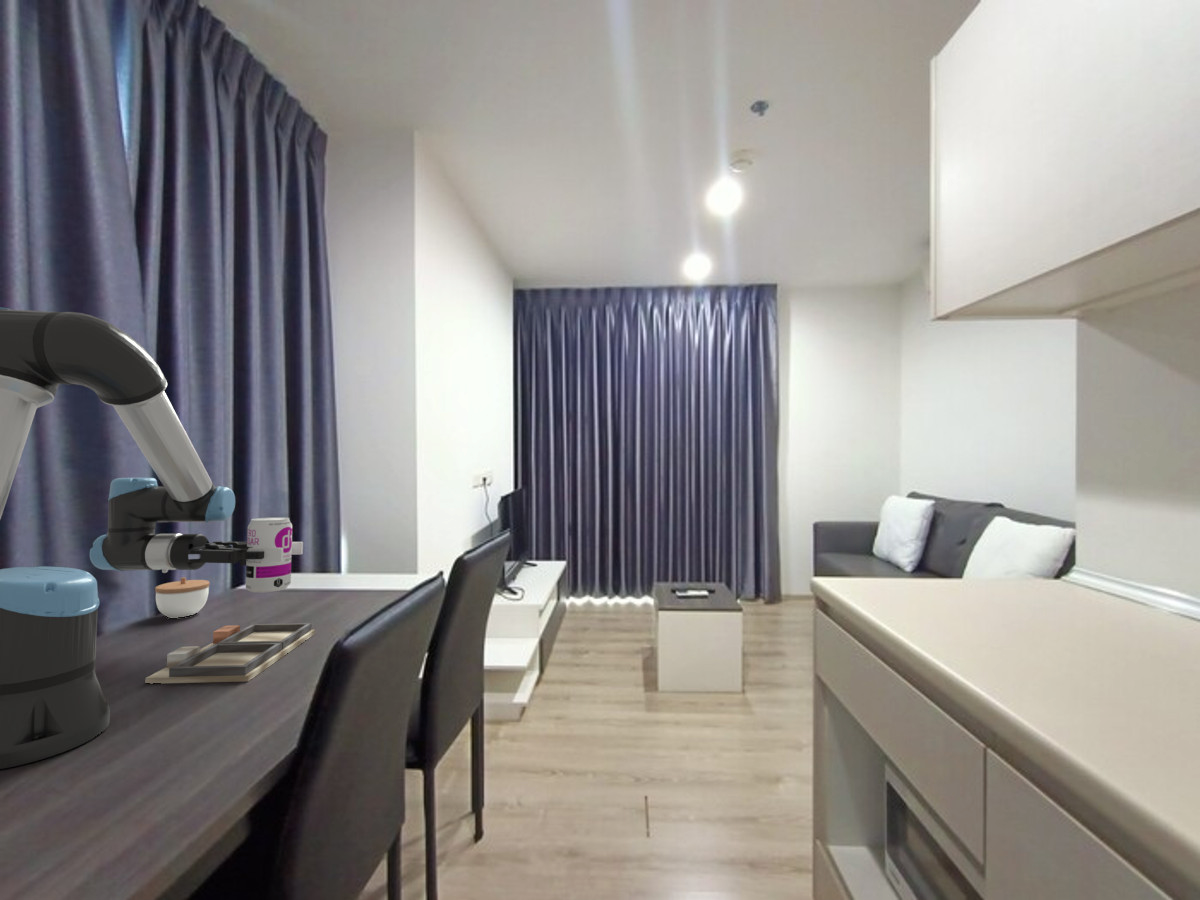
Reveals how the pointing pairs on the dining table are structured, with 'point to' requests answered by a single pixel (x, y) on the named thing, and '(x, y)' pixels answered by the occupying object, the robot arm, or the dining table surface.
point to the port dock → (233, 654)
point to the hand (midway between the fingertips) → (292, 551)
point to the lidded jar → (181, 597)
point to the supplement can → (269, 572)
